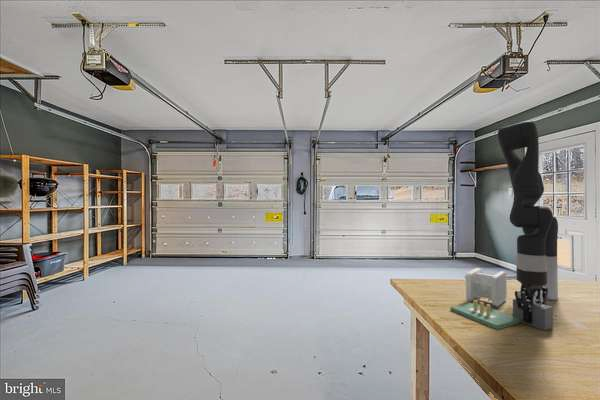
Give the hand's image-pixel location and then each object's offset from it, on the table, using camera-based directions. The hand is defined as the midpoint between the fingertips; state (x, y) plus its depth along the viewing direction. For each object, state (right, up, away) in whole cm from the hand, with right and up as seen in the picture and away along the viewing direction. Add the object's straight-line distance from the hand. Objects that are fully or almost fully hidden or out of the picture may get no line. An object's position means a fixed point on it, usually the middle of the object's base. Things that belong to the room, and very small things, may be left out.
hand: (532, 320), depth 87 cm
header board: (-11, -1, +6) cm, 13 cm away
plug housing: (0, -1, 0) cm, 1 cm away
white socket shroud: (-1, -1, +20) cm, 20 cm away
